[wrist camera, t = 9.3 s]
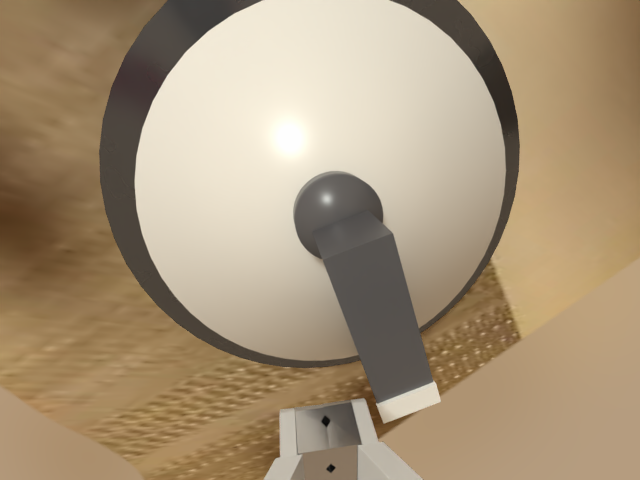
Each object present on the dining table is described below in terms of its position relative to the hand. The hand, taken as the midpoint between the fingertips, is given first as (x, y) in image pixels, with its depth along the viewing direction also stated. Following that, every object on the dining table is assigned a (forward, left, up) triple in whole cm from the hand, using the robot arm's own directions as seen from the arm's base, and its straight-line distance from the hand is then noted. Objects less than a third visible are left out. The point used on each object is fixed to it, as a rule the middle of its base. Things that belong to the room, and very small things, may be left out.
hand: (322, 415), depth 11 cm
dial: (-6, 0, -7) cm, 9 cm away
